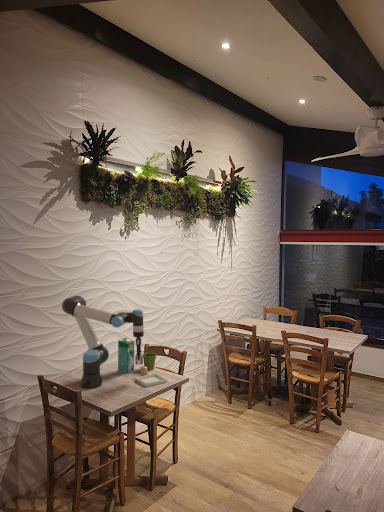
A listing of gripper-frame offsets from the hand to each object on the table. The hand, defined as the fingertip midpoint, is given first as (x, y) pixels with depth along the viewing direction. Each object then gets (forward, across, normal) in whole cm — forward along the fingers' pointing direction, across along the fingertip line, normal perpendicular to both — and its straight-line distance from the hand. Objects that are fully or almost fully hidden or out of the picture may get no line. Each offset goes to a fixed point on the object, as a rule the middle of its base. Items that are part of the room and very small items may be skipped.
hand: (139, 362), depth 296 cm
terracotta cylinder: (+14, +10, -3) cm, 17 cm away
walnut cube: (0, 0, 0) cm, 0 cm away
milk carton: (+13, +24, +11) cm, 29 cm away
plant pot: (+14, +29, -7) cm, 33 cm away
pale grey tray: (+14, -1, -8) cm, 16 cm away
